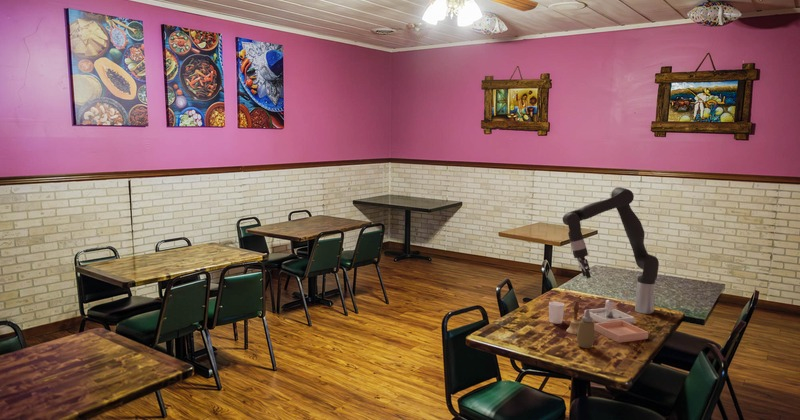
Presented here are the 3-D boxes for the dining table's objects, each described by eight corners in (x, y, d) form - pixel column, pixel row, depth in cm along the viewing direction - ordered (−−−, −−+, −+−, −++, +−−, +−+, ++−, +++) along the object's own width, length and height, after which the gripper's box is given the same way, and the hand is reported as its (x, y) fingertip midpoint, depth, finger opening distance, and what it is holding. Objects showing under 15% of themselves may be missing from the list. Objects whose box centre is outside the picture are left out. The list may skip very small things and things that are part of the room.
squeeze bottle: (573, 343, 270) (576, 307, 267) (589, 343, 271) (592, 306, 268) (580, 349, 262) (582, 312, 259) (597, 349, 263) (599, 312, 260)
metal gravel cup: (609, 315, 308) (610, 298, 307) (614, 317, 304) (616, 301, 303) (602, 315, 307) (604, 299, 305) (608, 318, 303) (609, 301, 301)
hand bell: (564, 328, 290) (566, 298, 288) (580, 329, 290) (582, 299, 288) (568, 334, 282) (570, 303, 280) (585, 335, 282) (587, 304, 279)
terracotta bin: (621, 326, 295) (622, 320, 295) (647, 338, 278) (648, 331, 278) (593, 330, 289) (594, 323, 288) (618, 342, 272) (619, 335, 272)
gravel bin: (610, 313, 317) (610, 307, 317) (633, 323, 300) (634, 317, 300) (584, 316, 311) (584, 310, 310) (606, 326, 294) (607, 320, 294)
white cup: (563, 320, 303) (564, 302, 302) (562, 325, 296) (564, 306, 294) (548, 318, 306) (549, 300, 304) (547, 323, 298) (548, 304, 297)
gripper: (588, 247, 299) (597, 277, 299) (582, 245, 314) (590, 273, 313) (574, 251, 300) (583, 280, 300) (569, 248, 314) (577, 276, 314)
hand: (587, 276), depth 307 cm, fingers open, 8 cm apart
